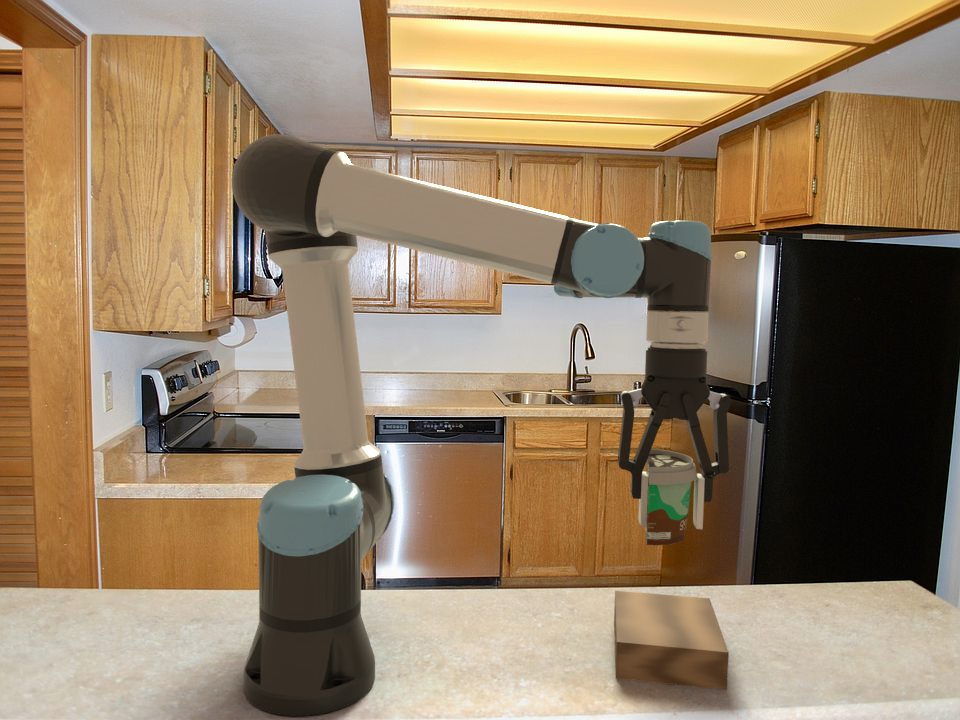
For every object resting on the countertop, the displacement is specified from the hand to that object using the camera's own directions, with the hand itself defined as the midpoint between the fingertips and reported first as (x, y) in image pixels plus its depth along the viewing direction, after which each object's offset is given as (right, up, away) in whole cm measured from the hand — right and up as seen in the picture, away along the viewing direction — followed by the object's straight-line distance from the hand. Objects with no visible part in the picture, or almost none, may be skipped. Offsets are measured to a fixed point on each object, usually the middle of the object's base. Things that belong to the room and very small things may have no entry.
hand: (669, 524), depth 94 cm
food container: (0, -2, 0) cm, 2 cm away
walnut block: (0, -18, +1) cm, 18 cm away
